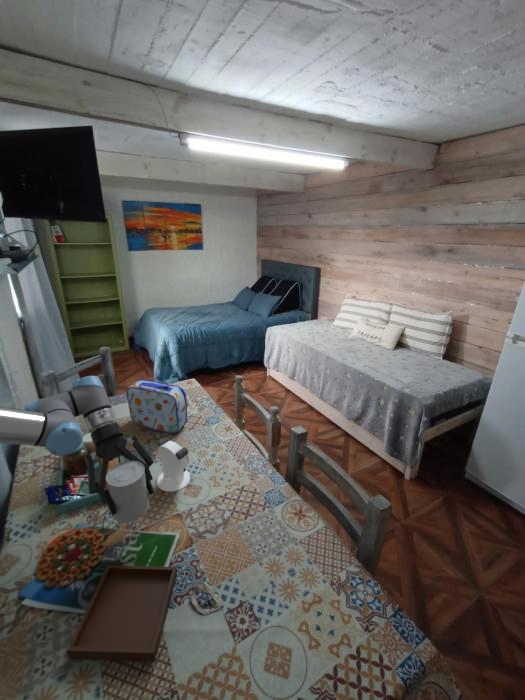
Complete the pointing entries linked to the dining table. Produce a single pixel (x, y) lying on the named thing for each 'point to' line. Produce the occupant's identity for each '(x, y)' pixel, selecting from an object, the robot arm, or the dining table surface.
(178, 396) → the lunch box
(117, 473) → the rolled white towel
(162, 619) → the tray
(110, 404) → the robot arm
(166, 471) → the white upright piece
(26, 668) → the dining table surface
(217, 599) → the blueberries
